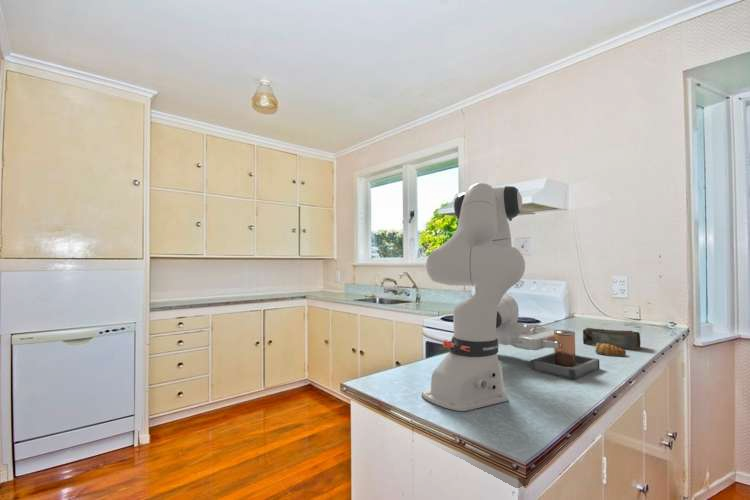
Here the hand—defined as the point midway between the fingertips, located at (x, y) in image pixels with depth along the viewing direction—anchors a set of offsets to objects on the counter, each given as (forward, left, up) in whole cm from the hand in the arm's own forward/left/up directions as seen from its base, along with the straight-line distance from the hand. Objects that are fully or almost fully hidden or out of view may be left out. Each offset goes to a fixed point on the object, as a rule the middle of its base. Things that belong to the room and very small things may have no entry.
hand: (566, 343), depth 114 cm
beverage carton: (+48, +4, -9) cm, 49 cm away
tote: (0, 0, -8) cm, 8 cm away
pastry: (+32, 0, -9) cm, 34 cm away
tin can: (+1, +1, -7) cm, 8 cm away
